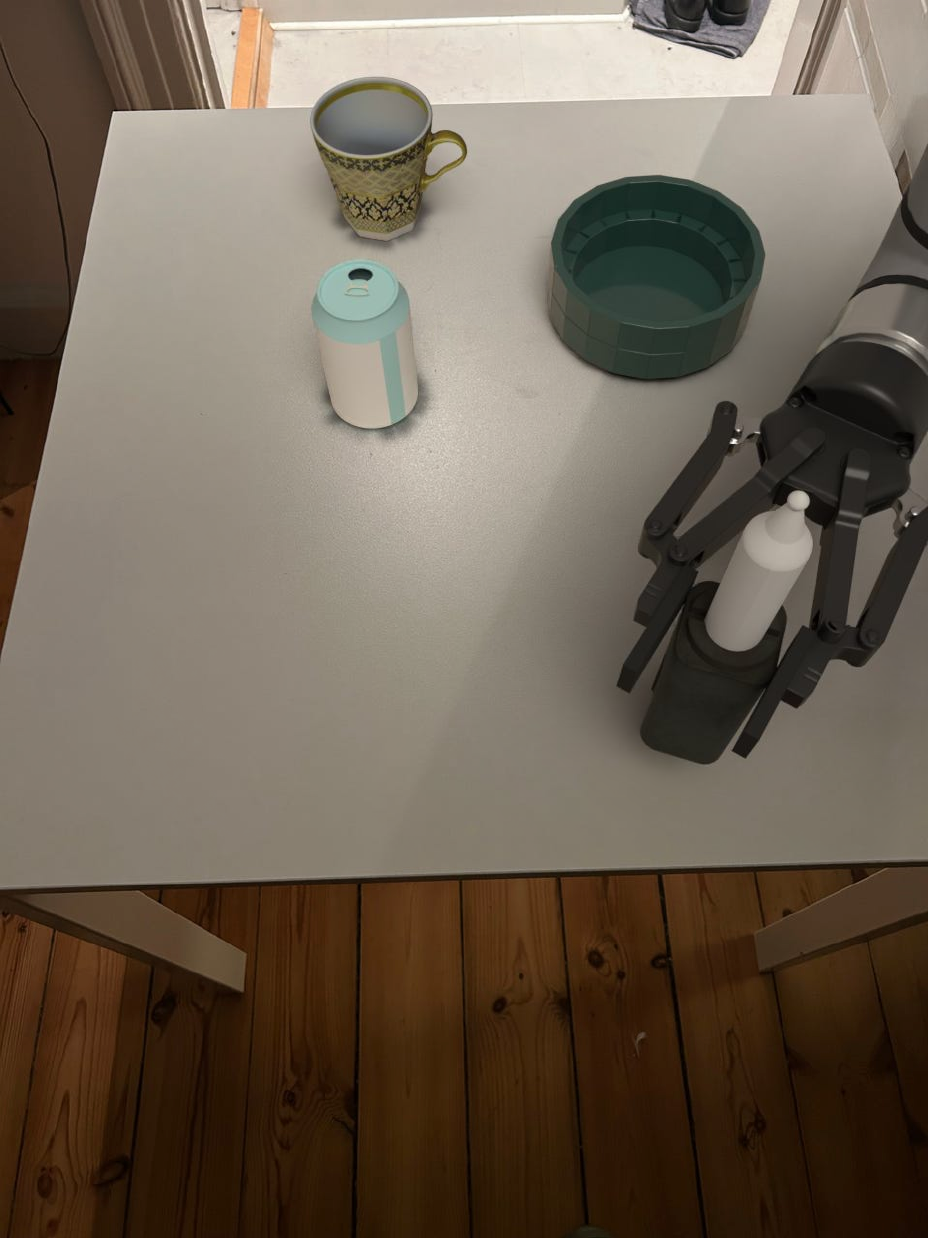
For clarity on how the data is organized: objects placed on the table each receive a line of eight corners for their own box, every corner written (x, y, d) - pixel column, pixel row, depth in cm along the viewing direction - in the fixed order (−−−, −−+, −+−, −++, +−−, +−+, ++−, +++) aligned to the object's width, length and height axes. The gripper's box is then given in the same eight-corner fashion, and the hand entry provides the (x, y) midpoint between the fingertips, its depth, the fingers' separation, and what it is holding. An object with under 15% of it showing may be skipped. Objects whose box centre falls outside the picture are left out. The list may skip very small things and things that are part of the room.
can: (315, 390, 81) (289, 278, 70) (389, 351, 82) (374, 237, 72) (360, 448, 78) (339, 341, 67) (435, 407, 80) (426, 296, 69)
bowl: (777, 283, 85) (799, 222, 79) (689, 416, 79) (705, 360, 73) (607, 212, 89) (615, 149, 83) (510, 332, 83) (512, 273, 77)
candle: (717, 770, 60) (857, 566, 37) (635, 744, 61) (723, 530, 38) (735, 695, 62) (876, 460, 39) (655, 671, 63) (749, 428, 40)
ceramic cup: (313, 245, 88) (293, 147, 79) (346, 169, 92) (330, 68, 83) (455, 268, 86) (451, 170, 77) (481, 190, 91) (480, 88, 82)
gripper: (1002, 497, 57) (841, 834, 49) (709, 364, 62) (516, 650, 53) (1071, 415, 50) (898, 790, 42) (737, 273, 55) (521, 584, 47)
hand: (685, 711), depth 48 cm, fingers closed on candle, 6 cm apart
